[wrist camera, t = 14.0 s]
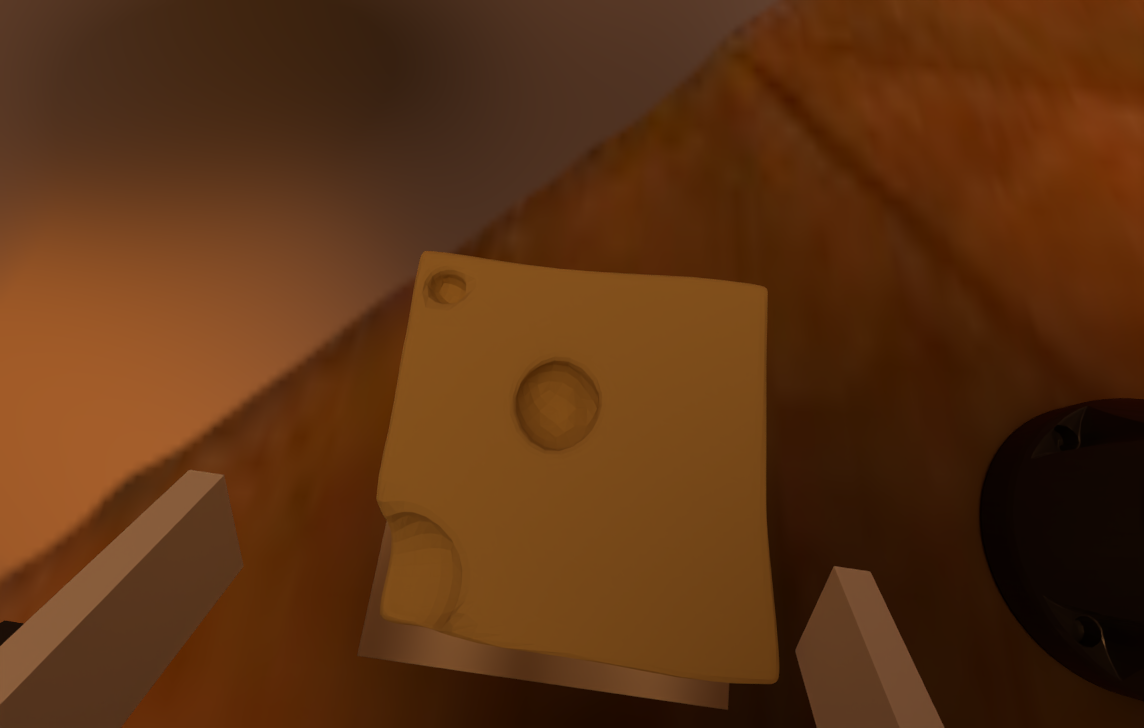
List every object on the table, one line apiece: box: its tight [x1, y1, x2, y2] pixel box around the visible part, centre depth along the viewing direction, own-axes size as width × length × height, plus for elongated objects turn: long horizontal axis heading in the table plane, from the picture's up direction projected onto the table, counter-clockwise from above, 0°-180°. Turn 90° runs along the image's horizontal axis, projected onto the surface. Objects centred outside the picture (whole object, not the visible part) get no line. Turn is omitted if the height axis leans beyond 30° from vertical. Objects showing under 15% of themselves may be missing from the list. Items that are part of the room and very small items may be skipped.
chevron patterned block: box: [357, 521, 729, 710], centre depth 27 cm, size 14×14×8 cm
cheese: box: [376, 251, 779, 684], centre depth 19 cm, size 10×11×10 cm
